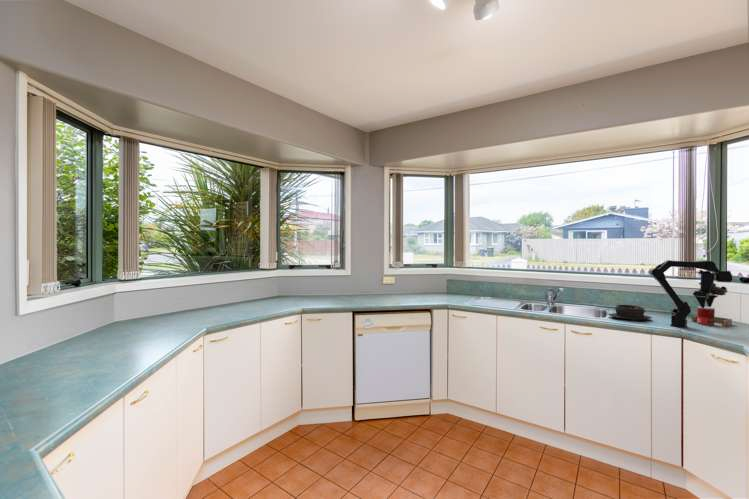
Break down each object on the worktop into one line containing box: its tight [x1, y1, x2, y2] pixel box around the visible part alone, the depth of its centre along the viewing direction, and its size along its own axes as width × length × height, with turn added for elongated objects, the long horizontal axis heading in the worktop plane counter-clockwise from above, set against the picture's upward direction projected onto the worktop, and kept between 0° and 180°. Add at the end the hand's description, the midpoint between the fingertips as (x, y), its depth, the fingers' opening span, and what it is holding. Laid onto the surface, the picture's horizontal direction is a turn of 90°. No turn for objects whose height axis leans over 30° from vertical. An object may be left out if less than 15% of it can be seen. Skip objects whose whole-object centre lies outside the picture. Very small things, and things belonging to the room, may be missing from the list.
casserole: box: [608, 304, 653, 321], centre depth 236 cm, size 25×19×8 cm
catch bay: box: [691, 314, 733, 328], centre depth 223 cm, size 12×16×4 cm
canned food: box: [696, 305, 716, 327], centre depth 220 cm, size 8×8×11 cm
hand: (706, 307), depth 209 cm, fingers open, 8 cm apart
